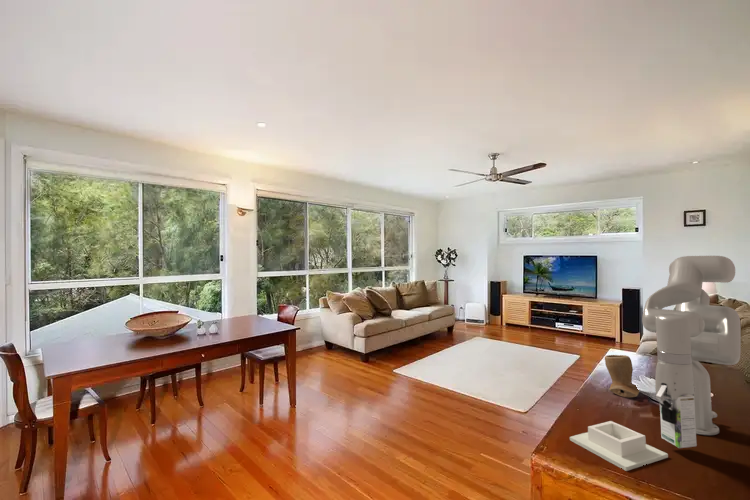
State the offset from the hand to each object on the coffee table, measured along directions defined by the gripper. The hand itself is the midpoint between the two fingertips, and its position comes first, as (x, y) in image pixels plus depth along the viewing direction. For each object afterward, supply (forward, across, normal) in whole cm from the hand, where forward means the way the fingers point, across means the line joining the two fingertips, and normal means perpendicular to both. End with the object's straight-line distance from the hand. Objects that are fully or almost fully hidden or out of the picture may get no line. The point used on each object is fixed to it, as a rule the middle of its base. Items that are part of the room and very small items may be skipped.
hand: (677, 418), depth 100 cm
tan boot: (+11, -30, -37) cm, 49 cm away
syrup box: (+7, 0, 0) cm, 7 cm away
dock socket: (+9, +15, -8) cm, 19 cm away
